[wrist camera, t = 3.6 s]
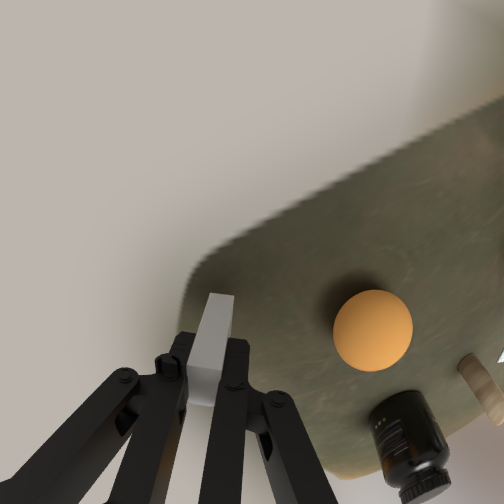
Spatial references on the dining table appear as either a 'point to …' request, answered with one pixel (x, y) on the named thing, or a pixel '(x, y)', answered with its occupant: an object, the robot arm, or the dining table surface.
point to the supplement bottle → (410, 447)
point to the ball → (372, 330)
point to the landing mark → (501, 357)
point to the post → (483, 388)
